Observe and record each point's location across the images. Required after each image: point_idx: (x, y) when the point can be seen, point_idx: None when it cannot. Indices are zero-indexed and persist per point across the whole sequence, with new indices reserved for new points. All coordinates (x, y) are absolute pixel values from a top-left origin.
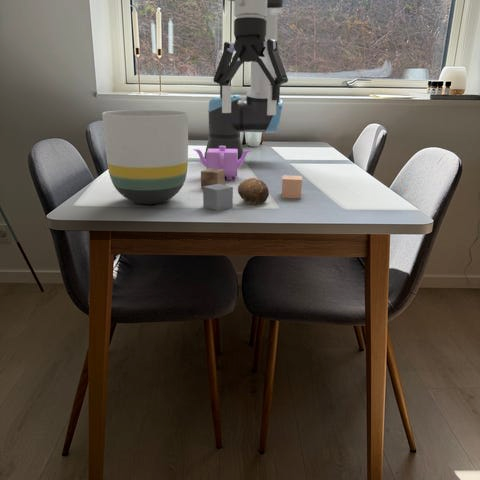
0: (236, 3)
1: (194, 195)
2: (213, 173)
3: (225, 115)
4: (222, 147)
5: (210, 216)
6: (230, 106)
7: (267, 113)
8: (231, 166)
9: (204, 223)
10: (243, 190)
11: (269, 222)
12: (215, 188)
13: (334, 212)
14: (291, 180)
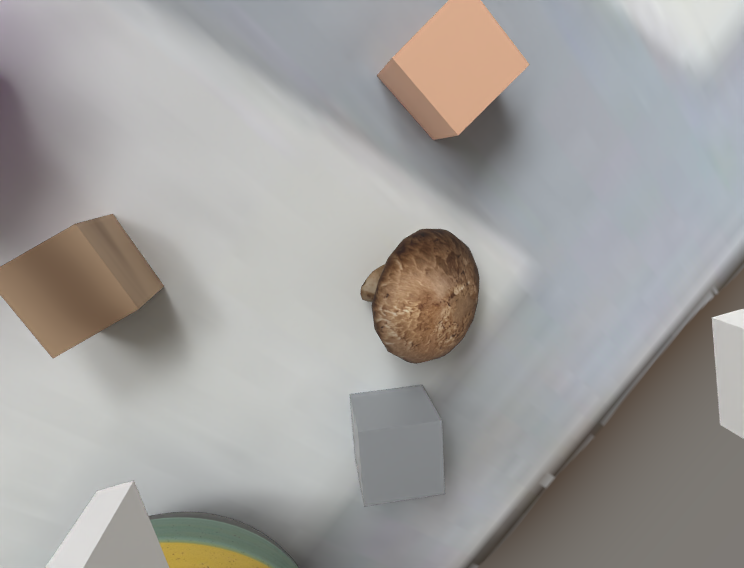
0: None
1: (194, 411)
2: (120, 318)
3: None
4: None
5: (461, 493)
6: (110, 547)
7: (738, 432)
8: None
9: (503, 536)
10: (436, 358)
11: (614, 389)
12: (420, 485)
13: (692, 140)
14: (488, 102)
